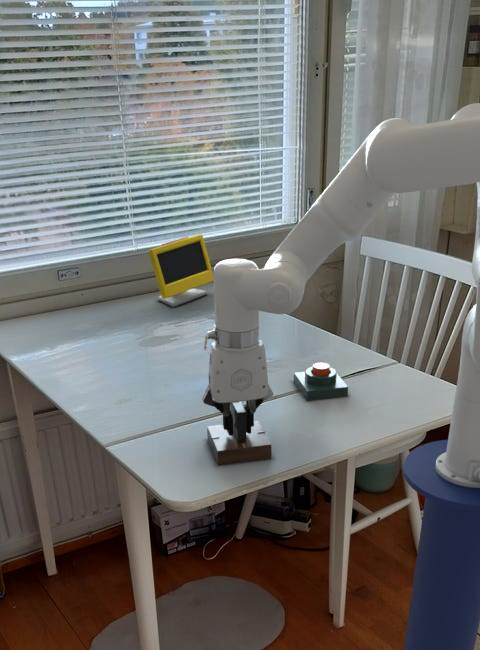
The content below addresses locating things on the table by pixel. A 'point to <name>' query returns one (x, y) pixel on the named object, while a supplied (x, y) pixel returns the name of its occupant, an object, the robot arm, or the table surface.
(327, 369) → the button
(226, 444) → the panel
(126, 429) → the table surface
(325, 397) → the box
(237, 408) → the handle
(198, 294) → the toy computer monitor
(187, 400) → the table surface
